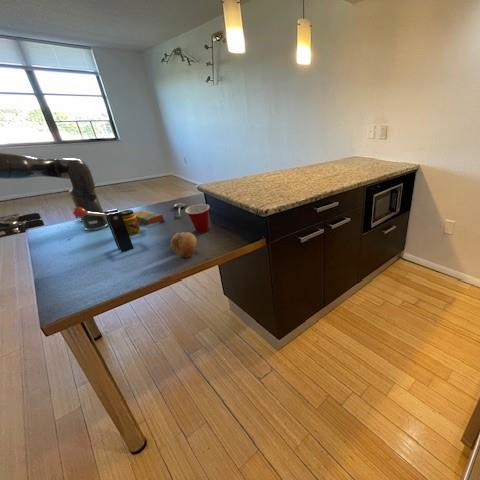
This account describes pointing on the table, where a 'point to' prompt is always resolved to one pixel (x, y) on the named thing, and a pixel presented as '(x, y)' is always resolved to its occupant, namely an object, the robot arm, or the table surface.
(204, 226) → the plastic cup
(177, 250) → the bread roll
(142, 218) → the carton
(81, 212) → the tap lever
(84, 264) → the table surface
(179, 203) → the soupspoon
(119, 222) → the black tall block
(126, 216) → the condiment
